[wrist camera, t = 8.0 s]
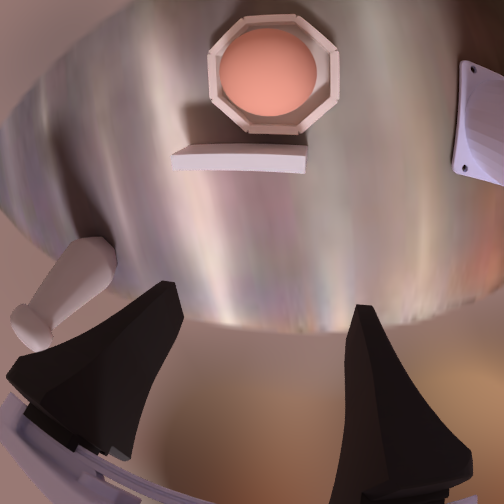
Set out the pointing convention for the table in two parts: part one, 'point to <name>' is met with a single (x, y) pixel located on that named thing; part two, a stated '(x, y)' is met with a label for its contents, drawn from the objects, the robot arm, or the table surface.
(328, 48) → the coaster
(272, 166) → the wall
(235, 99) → the ball
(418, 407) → the robot arm
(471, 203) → the table surface
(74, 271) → the salt shaker
